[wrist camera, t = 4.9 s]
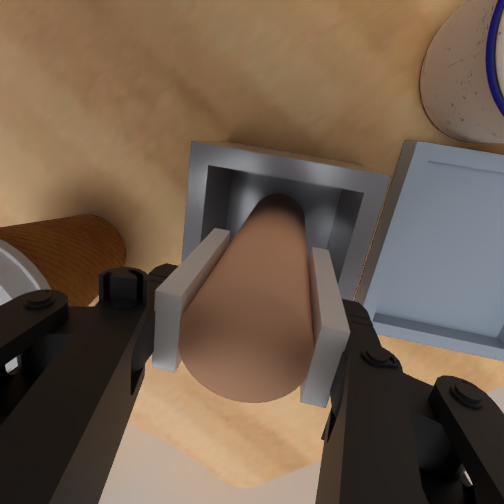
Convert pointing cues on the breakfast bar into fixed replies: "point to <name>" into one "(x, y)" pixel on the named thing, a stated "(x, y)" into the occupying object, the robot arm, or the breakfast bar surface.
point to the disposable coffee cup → (58, 258)
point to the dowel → (254, 310)
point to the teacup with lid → (467, 73)
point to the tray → (440, 252)
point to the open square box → (290, 184)
